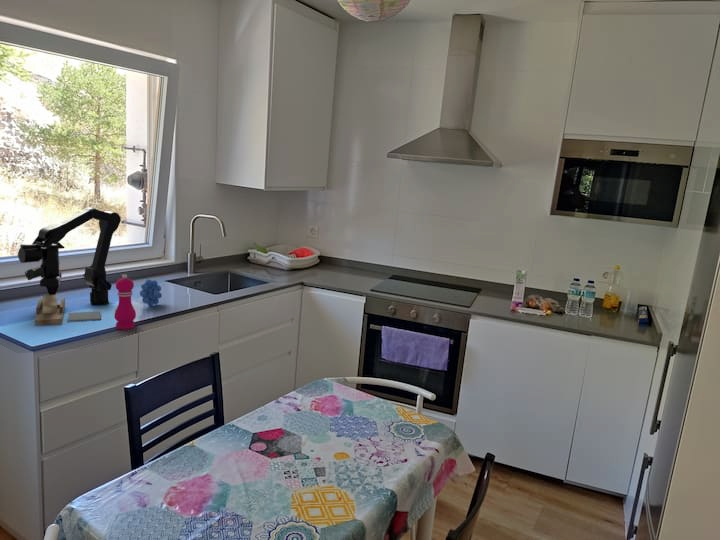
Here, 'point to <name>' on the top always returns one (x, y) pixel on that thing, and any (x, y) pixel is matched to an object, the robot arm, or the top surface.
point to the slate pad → (84, 316)
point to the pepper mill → (125, 304)
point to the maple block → (50, 304)
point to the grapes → (150, 292)
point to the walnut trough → (49, 314)
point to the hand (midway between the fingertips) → (52, 299)
